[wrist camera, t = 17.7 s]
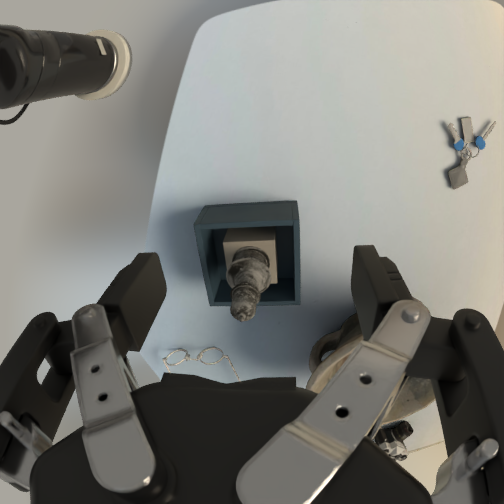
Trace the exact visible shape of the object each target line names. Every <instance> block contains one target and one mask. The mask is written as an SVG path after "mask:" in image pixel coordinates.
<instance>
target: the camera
mask: <svg viewBox="0 0 504 504" xmlns="http://www.w3.org/2000/svg"><path fill="white" fill-rule="evenodd" d="M412 433H413V429H412V427H411V425H410V424H409V423H408V422H407V421H405V422H403V423H401V424H400V425H399V426H397V427H395V428H394V429H384V428H382V427H380V429H379V430H378V432H377V434H376V435H375V437H374V439H375V442H376V444H377V445H378V446H379V447H380V448H381V449H382V450H384V451H385V452H386V453H387V454H388V455H389V456H390V457H391V458H392V459H394V460H395V461H396V460H399V461H402V460H405V459H406V458H407V455H408V452H407V450H406V446H405V445H404V443H403V440H405V439H406V438H407V437H408V436H410V435H411V434H412Z"/></svg>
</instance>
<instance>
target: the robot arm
mask: <svg viewBox="0 0 504 504" xmlns="http://www.w3.org/2000/svg"><path fill="white" fill-rule="evenodd" d="M117 67H118V52H117V49H116V47H115V45H114V44H113V42H112V41H110V40H109V39H107V38H105V37H99V36H89V35H82V34H75V33H66V32H55V31H41V30H23V29H22V28H20V27H18V26H14V25H0V109H6V108H11V107H15V106H19V105H23V104H24V106H23V107H22V109H21V110H20V112H19V113H18V114H17V115H16V116H15V117H14V118H12V119H9V120H0V124H1V125H7V124H11V123H14V122H15V121H17V120H18V119H19V118H20V117H21V116H22V114H23V113H24V112H25V110H26V109H27V107H28V105H29V104H30V103H32V102H36V101H40V100H45V99H50V98H56V97H61V96H68V95H74V94H81V93H93V92H97V91H99V90H101V89H103V88H104V87H105V86H107V85H108V84H109V83H110V81H111V80H112V78H113V77H114V75H115V73H116V70H117ZM351 291H352V296H353V300H354V304H355V307H356V311H357V315H358V319H359V323H360V327H361V331H362V335H363V340H362V341H361V342H360V343H359V344H358V345H357V347H356V348H355V349H354V350H353V352H352V353H351V354H350V356H349V357H348V358H347V360H346V361H345V362H344V363H343V365H342V366H341V367H340V368H339V370H338V371H337V372H336V373H335V375H334V376H333V377H332V378H331V380H330V381H329V382H328V383H327V384H326V386H325V387H324V388H323V389H322V390H321V392H320V393H319V394H318V393H315V392H313V391H310V390H307V389H304V388H299V387H296V377H276V378H257V379H251V380H246V381H240V382H235V383H228V384H225V383H220V382H217V381H213V380H209V379H206V378H203V377H199V376H196V375H187V374H175V373H164V374H163V377H162V380H161V382H157V383H152V384H149V385H145V386H143V387H141V388H140V387H139V385H138V382H137V380H136V377H135V375H134V372H133V370H132V367H131V365H130V362H129V360H128V358H127V356H126V354H127V352H128V351H137V352H140V350H141V347H142V345H143V343H144V341H145V339H146V337H147V335H148V332H149V330H150V328H151V326H152V324H153V322H154V320H155V318H156V316H157V313H158V311H159V309H160V307H161V305H162V303H163V301H164V299H165V297H166V292H167V287H166V281H165V278H164V274H163V271H162V267H161V263H160V259H159V256H158V254H157V253H155V252H151V253H139V254H138V255H137V256H136V257H135V259H134V260H133V261H132V263H131V264H130V265H127V266H126V267H125V268H123V269H122V270H121V271H120V272H119V273H118V274H117V276H116V277H115V279H114V280H113V281H112V282H111V284H110V286H108V288H107V289H106V291H105V292H104V294H103V295H102V296H101V298H100V299H99V300H98V302H97V303H96V304H89V305H86V306H84V307H82V308H80V309H79V310H78V311H76V312H75V314H74V315H73V317H72V320H68V321H63V322H58V320H57V318H56V316H55V315H54V314H53V313H51V312H44V313H41V314H39V315H37V316H36V317H34V318H33V319H32V320H31V321H30V322H29V324H28V325H27V327H26V328H25V329H24V331H23V333H22V334H21V335H20V337H19V338H18V339H17V341H16V342H15V344H14V345H13V347H12V348H11V350H10V351H9V353H8V354H7V356H6V358H5V359H4V360H3V362H2V364H1V365H0V479H2V480H3V481H5V482H8V483H9V484H11V485H12V486H14V487H15V488H17V489H18V490H20V491H23V492H28V491H30V500H31V504H504V350H503V348H502V346H501V344H500V342H499V340H498V338H497V336H496V334H495V332H494V331H493V329H492V327H491V325H490V323H489V321H488V320H487V318H486V317H485V316H484V315H483V314H482V313H480V312H478V311H476V310H473V309H461V310H459V311H457V312H456V313H455V315H454V317H453V320H449V319H442V318H436V317H432V316H431V314H430V311H429V310H428V308H427V307H426V306H424V305H423V304H421V303H419V302H417V301H414V300H413V298H412V296H411V294H410V292H409V290H408V288H407V286H406V284H405V282H404V280H403V278H402V276H401V274H400V273H399V270H398V269H397V267H396V265H395V263H393V262H392V261H391V260H390V259H388V258H387V257H379V255H378V253H377V251H376V249H375V247H374V245H357V246H355V247H354V253H353V264H352V275H351ZM44 358H45V359H46V360H47V362H48V363H49V365H50V366H51V368H50V369H49V371H48V373H47V375H46V377H45V379H44V380H43V382H42V384H41V385H40V384H39V382H38V380H37V371H38V368H39V366H40V365H41V363H42V361H43V360H44ZM408 377H416V378H423V379H430V380H431V384H432V387H433V391H434V395H435V399H436V403H437V407H438V411H439V416H440V420H441V425H442V429H443V434H444V439H445V444H446V450H447V455H448V458H447V459H446V460H445V461H444V463H442V465H441V466H440V468H439V469H438V472H437V477H436V487H435V490H434V492H433V494H432V495H431V496H430V494H429V492H428V491H427V489H426V488H425V487H424V486H423V485H422V484H421V483H420V482H419V481H417V480H416V479H415V478H414V477H413V476H412V475H411V474H410V473H408V472H407V471H406V470H405V469H404V468H402V467H401V466H400V465H399V464H398V463H397V462H396V461H395V460H394V459H392V458H391V457H390V456H389V455H388V454H387V453H386V452H385V451H384V450H382V449H381V448H380V447H379V446H378V445H377V444H376V443H375V442H374V441H372V440H373V438H374V437H375V435H376V434H377V432H378V430H379V429H380V427H381V425H382V424H383V422H384V420H385V418H386V416H387V415H388V413H389V411H390V410H391V408H392V406H393V404H394V403H395V401H396V399H397V397H398V396H399V394H400V392H401V390H402V388H403V387H404V385H405V383H406V381H407V379H408ZM75 388H76V392H77V398H78V403H79V407H80V412H81V416H82V420H83V426H82V427H80V428H79V429H77V430H76V431H74V432H73V433H71V434H70V435H68V436H67V437H66V438H64V439H62V440H61V441H59V442H58V443H56V444H55V445H52V442H53V439H54V437H55V434H56V432H57V429H58V427H59V425H60V422H61V420H62V417H63V415H64V413H65V411H66V408H67V406H68V404H69V401H70V399H71V397H72V395H73V392H74V390H75Z"/></svg>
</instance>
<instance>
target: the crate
mask: <svg viewBox="0 0 504 504" xmlns="http://www.w3.org/2000/svg"><path fill="white" fill-rule="evenodd" d="M264 226H276V242H277V259H278V275H277V283H271V284H270V285H269V287H268V288H267V289H266V290H265V291H263V292H262V293H260V294H261V298H260V300H259V302H258V303H257V305H256V306H275V305H300V224H299V213H298V205H297V201H278V202H257V203H239V204H222V205H207V206H205V207H204V208H203V210H202V211H201V213H200V215H199V216H198V218H197V220H196V221H195V223H194V230H195V235H196V241H197V246H198V251H199V256H200V261H201V266H202V271H203V276H204V281H205V285H206V290H207V295H208V299H209V304H210V306H231V303H232V299H231V295H230V293H231V290H232V288H231V287H230V285H229V284H228V282H227V278H226V272H227V266H226V260H225V253H224V247H223V241H224V238H225V235H226V232H227V230H228V228H242V227H264Z"/></svg>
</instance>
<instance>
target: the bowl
mask: <svg viewBox="0 0 504 504" xmlns="http://www.w3.org/2000/svg"><path fill="white" fill-rule="evenodd" d="M412 298H413V297H412ZM413 300H414V301H417V302H419V303H421V304H423V303H422V302H421V301H419V300H417V299H415V298H413ZM362 340H363V335H362V331H361V327H360V323H359V319H358V315H357V313H356V314H354V315H353V316H351V317H350V318H348V319H347V320H346V321H345V322H344V324H343V325H342V328H341V330H339V331H336V332H333V333H330V334H327V335H325V336H323V337H322V338H321V339H320V340H319V341H317V342H316V344H315V345H314V346H313V349H312V351H311V354H310V360H309V368H310V371H311V373H312V375H311V377H310V379H309V380H308V383H307V386H306V389H307V390H310V391H313V392H315V393H318V394H319V393H320V392H321V390H322V389H323V388H324V387H325V386H326V384H327V383H328V382H329V381H330V380H331V378H332V377H333V376H334V375H335V373H336V372H337V371H338V370H339V368H340V367H341V366H342V365H343V363H344V362H345V361H346V360H347V358H348V357H349V356H350V354H351V353H352V352H353V350H354V349H355V348H356V347H357V345H358V344H359V343H360V342H361V341H362ZM332 350H335V351H334V352H332V353H331V354H330V355H329V356H328V357H327V358H326V359H325V360H323V361H322V360H321V358H322V356H323V355H324V354H325V353H326V352H329V351H332ZM435 400H436V399H435V395H434V391H433V387H432V384H431V380H430V379H423V378H416V377H408V379H407V381H406V383H405V385H404V387H403V388H402V390H401V392H400V394H399V396H398V397H397V399H396V401H395V403H394V404H393V406H392V408H391V410H390V411H389V413H388V415H387V416H386V418H385V420H384V422H383V424H387V423H390V422H394V421H397V420H399V419H402V418H404V417H407V416H409V415H411V414H413V413H415V412H417V411H419V410H421V409H424V408H425V407H427V406H428V405H430V404H431V403H432V402H433V401H435ZM383 424H382V425H383Z"/></svg>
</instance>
